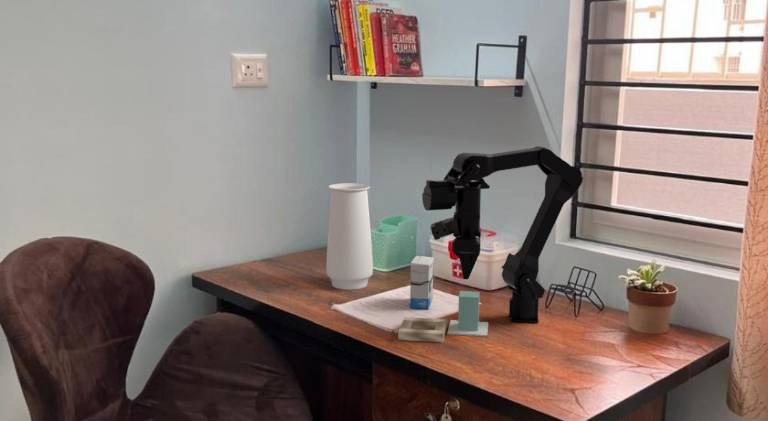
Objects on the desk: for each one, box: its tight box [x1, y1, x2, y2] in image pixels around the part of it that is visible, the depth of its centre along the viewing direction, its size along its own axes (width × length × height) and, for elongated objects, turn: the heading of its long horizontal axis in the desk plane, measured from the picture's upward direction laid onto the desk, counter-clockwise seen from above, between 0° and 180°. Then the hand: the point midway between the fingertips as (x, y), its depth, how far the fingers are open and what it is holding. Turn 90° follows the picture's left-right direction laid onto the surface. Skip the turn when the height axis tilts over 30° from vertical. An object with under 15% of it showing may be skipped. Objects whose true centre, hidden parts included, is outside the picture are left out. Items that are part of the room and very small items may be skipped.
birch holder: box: [397, 316, 448, 344], centre depth 172 cm, size 10×10×2 cm
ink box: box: [409, 255, 434, 310], centre depth 193 cm, size 8×5×12 cm, turn 168°
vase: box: [325, 182, 374, 291], centre depth 209 cm, size 13×13×28 cm
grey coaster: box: [446, 319, 489, 338], centre depth 175 cm, size 9×9×1 cm
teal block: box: [457, 290, 481, 331], centre depth 175 cm, size 4×4×8 cm
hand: (466, 273), depth 176 cm, fingers open, 9 cm apart
